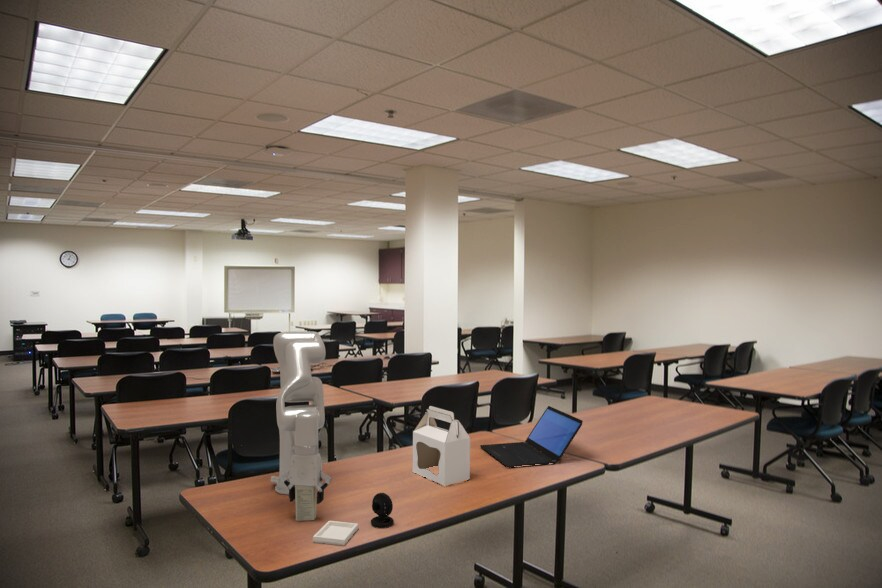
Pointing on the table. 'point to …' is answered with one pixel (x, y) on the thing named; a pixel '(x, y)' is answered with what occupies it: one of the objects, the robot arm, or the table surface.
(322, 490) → the robot arm
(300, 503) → the skincare box
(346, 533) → the tray
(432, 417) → the gable box
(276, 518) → the table surface
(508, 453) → the laptop
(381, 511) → the webcam
